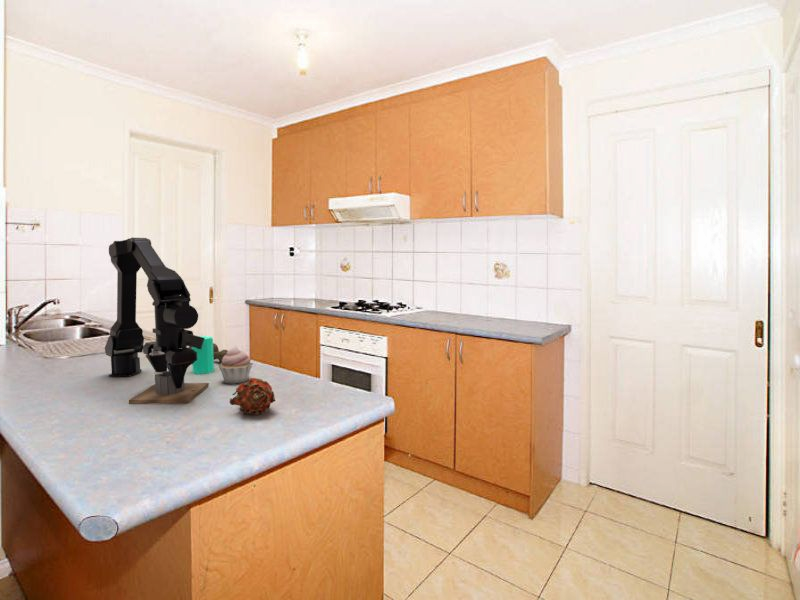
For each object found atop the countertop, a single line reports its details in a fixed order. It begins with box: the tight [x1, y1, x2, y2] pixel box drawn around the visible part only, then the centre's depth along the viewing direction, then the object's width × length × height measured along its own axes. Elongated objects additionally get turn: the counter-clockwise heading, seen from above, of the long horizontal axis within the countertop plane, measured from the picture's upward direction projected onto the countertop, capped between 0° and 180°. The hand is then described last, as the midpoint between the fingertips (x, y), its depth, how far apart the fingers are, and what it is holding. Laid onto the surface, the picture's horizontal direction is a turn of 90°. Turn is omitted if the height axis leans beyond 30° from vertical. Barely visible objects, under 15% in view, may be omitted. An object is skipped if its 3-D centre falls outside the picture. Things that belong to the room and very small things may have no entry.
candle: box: [191, 335, 215, 375], centre depth 140 cm, size 6×6×12 cm
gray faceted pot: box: [153, 370, 185, 395], centre depth 118 cm, size 6×7×5 cm
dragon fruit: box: [229, 377, 276, 416], centre depth 106 cm, size 8×8×12 cm
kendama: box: [187, 342, 229, 364], centre depth 153 cm, size 6×10×20 cm
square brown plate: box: [128, 382, 210, 405], centre depth 118 cm, size 14×14×4 cm
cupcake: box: [218, 346, 254, 385], centre depth 130 cm, size 9×9×10 cm
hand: (170, 384), depth 118 cm, fingers open, 9 cm apart
